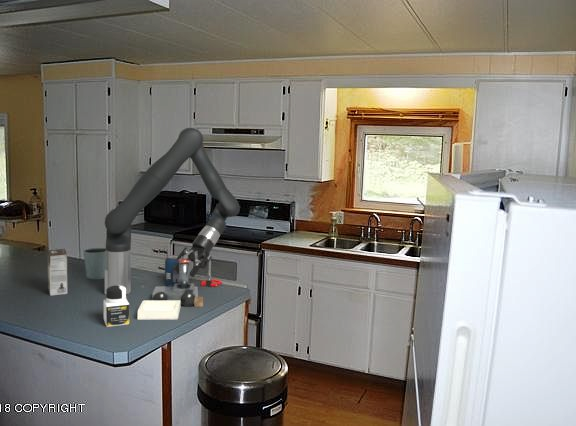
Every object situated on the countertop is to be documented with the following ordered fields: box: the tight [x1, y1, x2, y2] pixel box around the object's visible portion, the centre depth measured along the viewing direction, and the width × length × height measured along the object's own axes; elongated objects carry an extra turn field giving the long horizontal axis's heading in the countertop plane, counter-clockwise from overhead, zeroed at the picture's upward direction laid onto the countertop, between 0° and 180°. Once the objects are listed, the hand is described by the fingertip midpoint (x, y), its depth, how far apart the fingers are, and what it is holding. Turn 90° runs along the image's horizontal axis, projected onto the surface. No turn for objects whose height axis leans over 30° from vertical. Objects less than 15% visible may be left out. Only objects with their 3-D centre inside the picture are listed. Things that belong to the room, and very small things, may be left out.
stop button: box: [178, 257, 191, 288], centre depth 185 cm, size 4×4×12 cm
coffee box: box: [46, 248, 68, 296], centre depth 190 cm, size 9×6×16 cm
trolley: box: [151, 283, 199, 308], centre depth 185 cm, size 16×12×6 cm
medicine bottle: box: [103, 285, 130, 328], centre depth 161 cm, size 7×7×12 cm
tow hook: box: [200, 258, 222, 288], centre depth 210 cm, size 8×13×9 cm
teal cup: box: [82, 247, 106, 280], centre depth 213 cm, size 10×10×12 cm
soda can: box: [164, 254, 179, 286], centre depth 207 cm, size 7×7×12 cm
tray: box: [137, 299, 181, 321], centre depth 171 cm, size 13×11×3 cm
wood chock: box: [194, 296, 204, 308], centre depth 181 cm, size 3×2×3 cm
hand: (183, 273), depth 185 cm, fingers open, 8 cm apart
